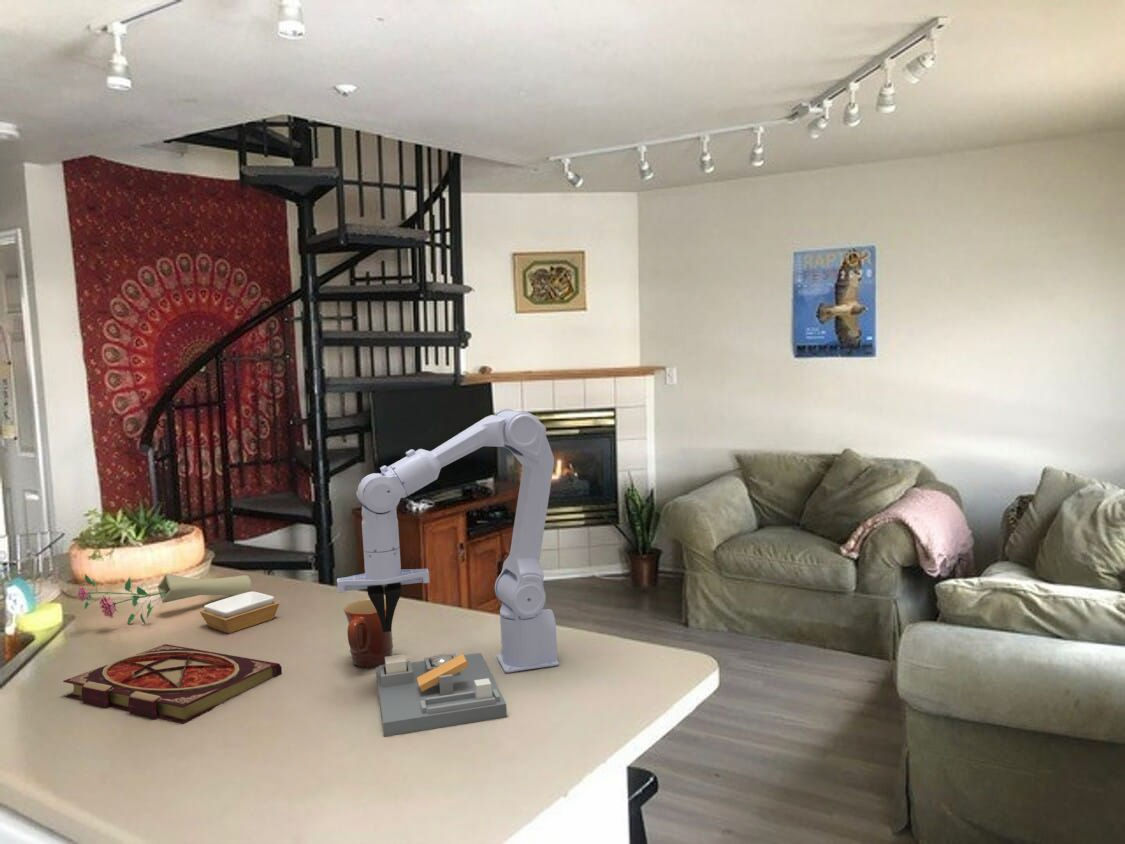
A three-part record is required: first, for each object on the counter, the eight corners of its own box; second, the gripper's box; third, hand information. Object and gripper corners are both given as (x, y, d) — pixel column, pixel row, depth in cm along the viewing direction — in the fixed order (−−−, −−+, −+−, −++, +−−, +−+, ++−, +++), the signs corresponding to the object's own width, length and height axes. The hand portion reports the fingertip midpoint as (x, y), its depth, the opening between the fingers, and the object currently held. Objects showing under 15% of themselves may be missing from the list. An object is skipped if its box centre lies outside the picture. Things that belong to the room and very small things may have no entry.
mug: (360, 651, 154) (356, 597, 153) (404, 653, 153) (401, 598, 152) (329, 677, 143) (325, 619, 142) (377, 679, 141) (373, 620, 140)
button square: (405, 664, 137) (404, 654, 137) (406, 671, 134) (406, 661, 134) (385, 667, 137) (384, 656, 136) (386, 674, 133) (385, 663, 133)
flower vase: (247, 632, 191) (84, 645, 163) (222, 607, 198) (63, 615, 171) (262, 585, 189) (100, 589, 162) (237, 561, 197) (78, 562, 170)
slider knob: (489, 695, 128) (488, 678, 127) (491, 701, 125) (491, 683, 125) (475, 698, 127) (474, 680, 127) (477, 703, 125) (476, 685, 125)
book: (282, 680, 145) (280, 652, 145) (179, 729, 126) (177, 697, 126) (168, 659, 157) (167, 633, 157) (59, 701, 139) (57, 672, 138)
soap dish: (255, 611, 182) (253, 589, 181) (281, 619, 176) (279, 596, 175) (200, 628, 172) (198, 604, 171) (226, 637, 166) (224, 612, 165)
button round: (451, 663, 140) (450, 653, 140) (453, 671, 137) (453, 660, 137) (430, 666, 139) (430, 655, 139) (433, 673, 136) (432, 663, 136)
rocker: (466, 660, 134) (462, 653, 133) (470, 669, 130) (466, 661, 130) (420, 684, 132) (416, 677, 132) (423, 694, 128) (419, 686, 128)
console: (481, 663, 146) (480, 636, 145) (506, 716, 125) (505, 684, 124) (376, 678, 141) (374, 650, 141) (384, 736, 120) (382, 702, 120)
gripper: (424, 538, 140) (428, 616, 142) (335, 547, 137) (340, 627, 138) (428, 547, 134) (433, 630, 135) (335, 557, 130) (341, 642, 131)
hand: (386, 629), depth 136 cm, fingers closed
